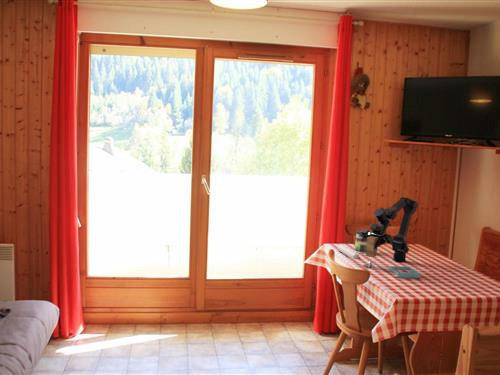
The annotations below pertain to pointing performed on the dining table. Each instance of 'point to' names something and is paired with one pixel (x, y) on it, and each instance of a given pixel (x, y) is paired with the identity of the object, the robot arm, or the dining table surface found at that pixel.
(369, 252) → the strut
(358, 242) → the coffee can
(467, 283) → the dining table surface
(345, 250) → the tube
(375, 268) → the stud mount
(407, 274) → the teal flat square frame
